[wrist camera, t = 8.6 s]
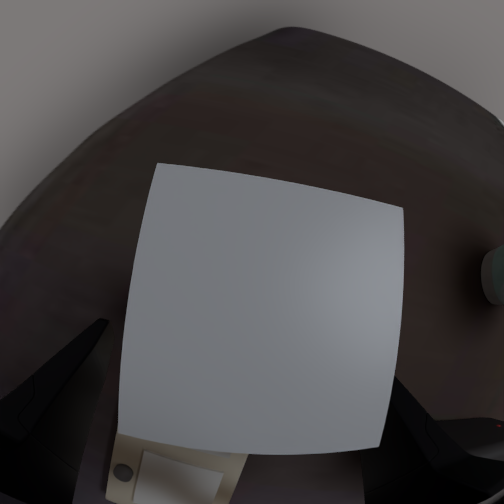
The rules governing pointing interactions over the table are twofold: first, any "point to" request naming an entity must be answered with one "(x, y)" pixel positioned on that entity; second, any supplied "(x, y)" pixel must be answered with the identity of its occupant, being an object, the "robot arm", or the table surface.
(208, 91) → the table surface
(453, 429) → the leaning round-cornered charcoal block
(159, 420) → the block
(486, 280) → the coffee cup
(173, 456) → the switch board
